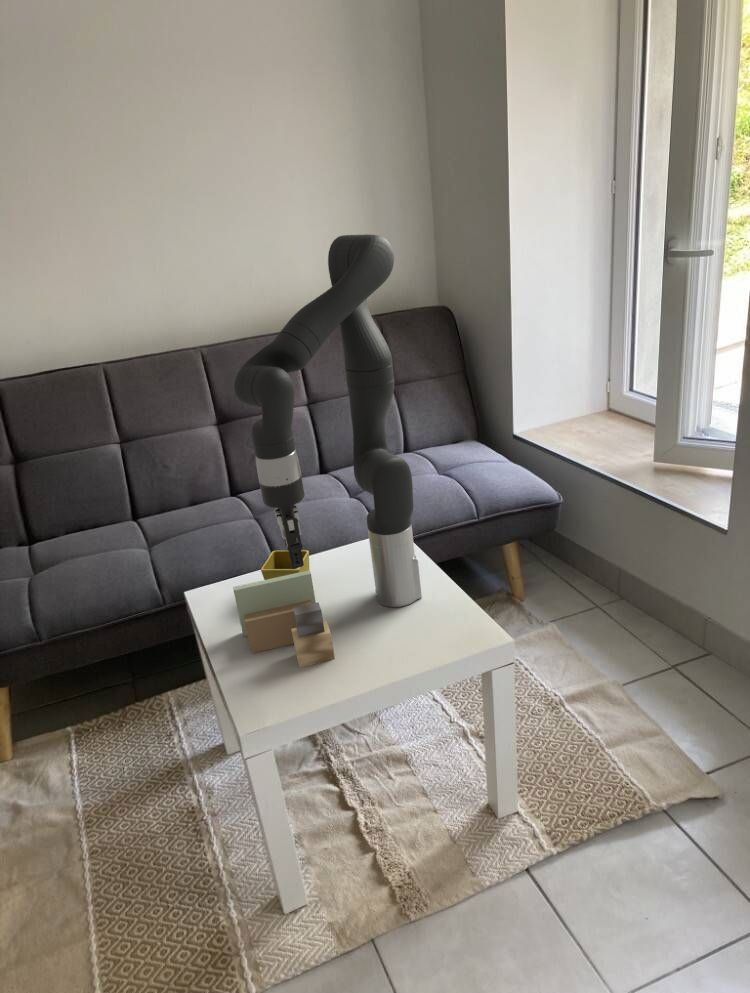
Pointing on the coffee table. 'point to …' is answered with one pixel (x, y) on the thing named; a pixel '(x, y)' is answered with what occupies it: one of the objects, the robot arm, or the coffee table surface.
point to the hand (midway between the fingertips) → (294, 556)
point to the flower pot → (283, 564)
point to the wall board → (272, 609)
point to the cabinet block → (311, 636)
